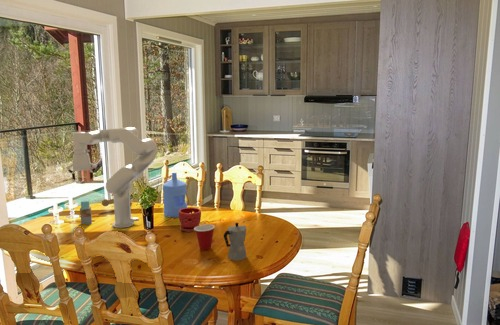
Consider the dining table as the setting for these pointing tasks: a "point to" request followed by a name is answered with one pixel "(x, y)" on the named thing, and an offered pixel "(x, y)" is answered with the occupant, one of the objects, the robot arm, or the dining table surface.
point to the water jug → (174, 196)
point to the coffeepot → (236, 242)
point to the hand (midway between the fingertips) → (82, 179)
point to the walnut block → (85, 212)
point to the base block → (86, 220)
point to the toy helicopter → (111, 201)
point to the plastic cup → (204, 236)
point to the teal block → (85, 204)
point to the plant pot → (189, 219)
